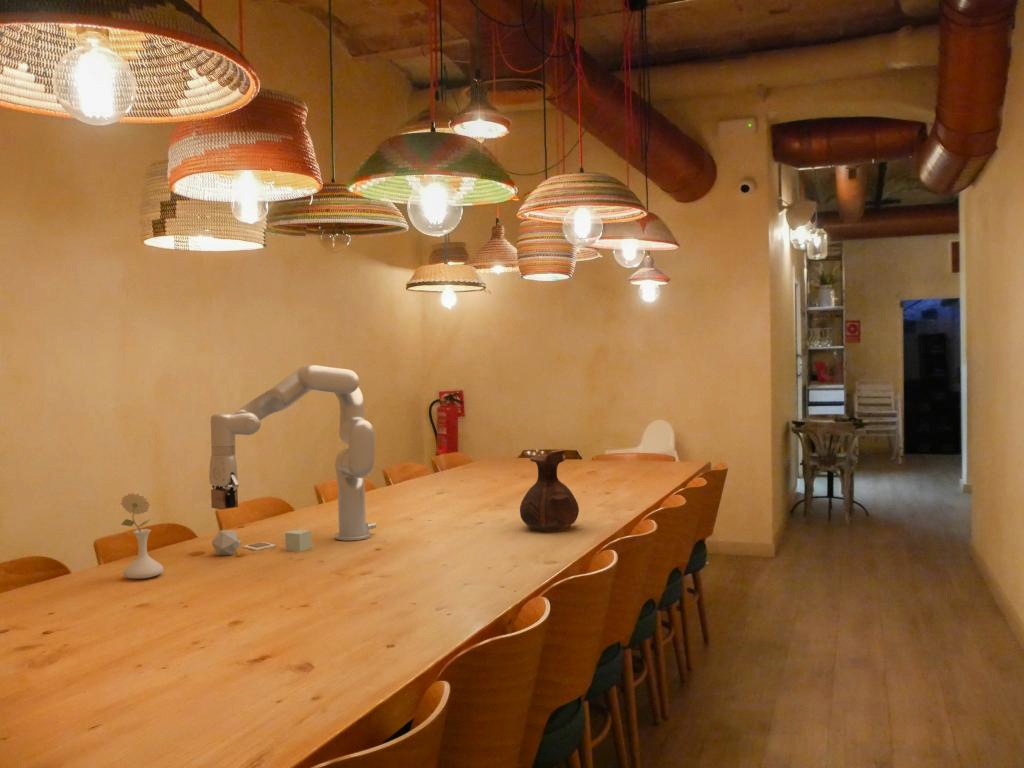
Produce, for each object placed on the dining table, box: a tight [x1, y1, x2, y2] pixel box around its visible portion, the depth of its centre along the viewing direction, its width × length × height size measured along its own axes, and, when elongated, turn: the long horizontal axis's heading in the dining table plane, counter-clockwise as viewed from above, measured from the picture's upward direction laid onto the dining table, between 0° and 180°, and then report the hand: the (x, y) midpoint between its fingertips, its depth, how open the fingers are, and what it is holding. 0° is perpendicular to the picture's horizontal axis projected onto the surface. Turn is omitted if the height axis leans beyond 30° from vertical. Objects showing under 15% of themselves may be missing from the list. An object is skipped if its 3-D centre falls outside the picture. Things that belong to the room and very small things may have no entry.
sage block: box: [284, 529, 312, 553], centre depth 299 cm, size 6×6×6 cm
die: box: [211, 529, 242, 556], centre depth 293 cm, size 8×9×10 cm
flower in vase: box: [120, 492, 165, 580], centre depth 265 cm, size 13×11×25 cm
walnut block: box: [210, 487, 239, 511], centre depth 293 cm, size 6×6×6 cm
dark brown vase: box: [519, 449, 580, 532], centre depth 325 cm, size 22×22×30 cm
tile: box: [241, 541, 277, 551], centre depth 304 cm, size 8×8×1 cm
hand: (224, 505), depth 293 cm, fingers closed on walnut block, 6 cm apart
